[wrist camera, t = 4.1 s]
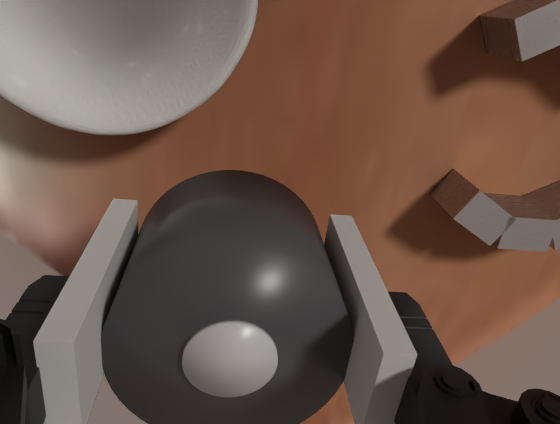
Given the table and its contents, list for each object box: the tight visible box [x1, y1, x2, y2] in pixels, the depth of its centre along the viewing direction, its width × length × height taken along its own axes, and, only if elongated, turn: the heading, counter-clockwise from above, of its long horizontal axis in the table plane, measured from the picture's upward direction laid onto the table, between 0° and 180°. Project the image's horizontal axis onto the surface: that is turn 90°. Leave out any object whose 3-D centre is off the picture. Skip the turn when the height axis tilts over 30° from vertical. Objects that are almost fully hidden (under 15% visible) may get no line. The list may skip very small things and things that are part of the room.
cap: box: [101, 170, 354, 424], centre depth 14 cm, size 6×6×5 cm
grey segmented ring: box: [430, 0, 560, 252], centre depth 23 cm, size 12×8×3 cm
